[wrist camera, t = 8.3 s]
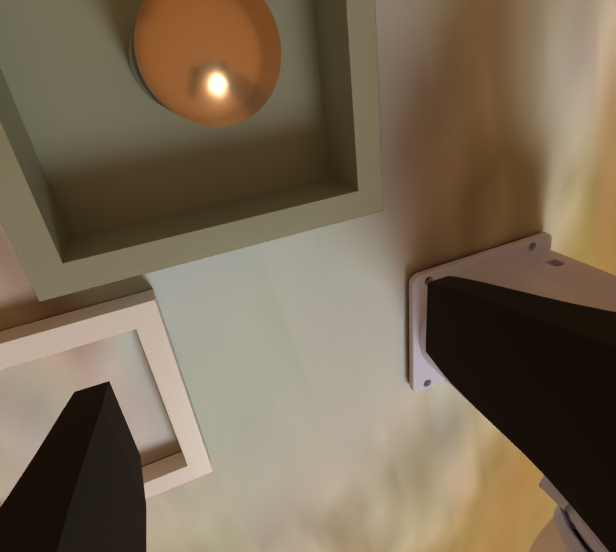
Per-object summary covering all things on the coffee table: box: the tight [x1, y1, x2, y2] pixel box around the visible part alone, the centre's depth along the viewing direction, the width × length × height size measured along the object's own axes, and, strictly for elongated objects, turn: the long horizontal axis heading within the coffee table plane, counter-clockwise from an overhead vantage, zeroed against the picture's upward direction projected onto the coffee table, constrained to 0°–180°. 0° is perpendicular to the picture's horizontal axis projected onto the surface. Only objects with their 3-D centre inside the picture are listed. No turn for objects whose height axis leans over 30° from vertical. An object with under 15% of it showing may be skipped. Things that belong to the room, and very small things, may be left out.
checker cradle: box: [0, 289, 213, 499], centre depth 18 cm, size 10×10×1 cm
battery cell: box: [128, 0, 281, 127], centre depth 11 cm, size 3×3×6 cm
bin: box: [0, 0, 383, 301], centre depth 13 cm, size 12×12×3 cm
